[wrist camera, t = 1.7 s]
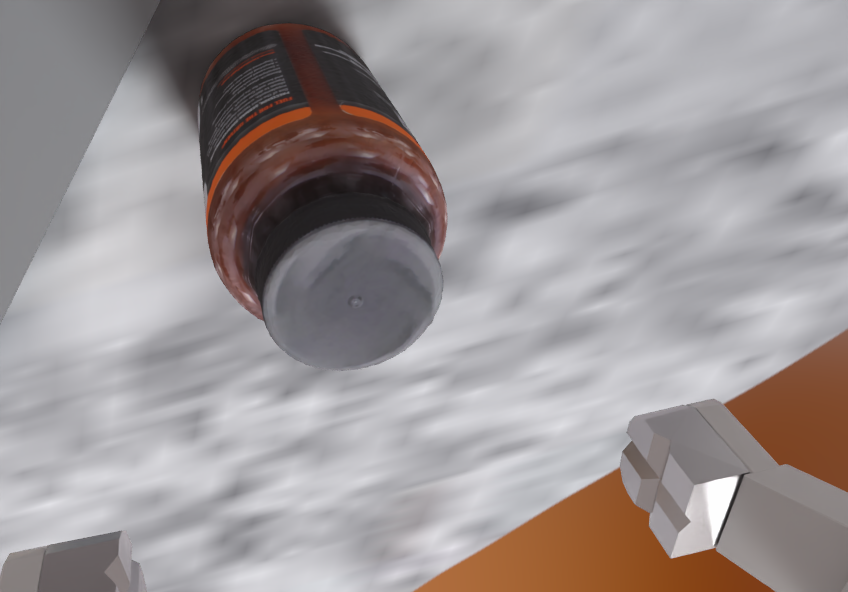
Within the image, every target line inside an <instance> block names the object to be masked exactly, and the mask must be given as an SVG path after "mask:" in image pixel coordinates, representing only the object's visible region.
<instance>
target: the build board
mask: <svg viewBox="0 0 848 592" xmlns="http://www.w3.org/2000/svg"><path fill="white" fill-rule="evenodd" d="M160 1H161V0H0V324H1V322H2V320H3V318H4V316H5V314H6V312H7V310H8V308H9V306H10V304H11V302H12V300H13V298H14V296H15V294H16V292H17V290H18V288H19V286H20V283H21V281H22V279H23V277H24V275H25V273H26V271H27V269H28V267H29V265H30V263H31V261H32V259H33V257H34V255H35V253H36V251H37V249H38V247H39V245H40V243H41V241H42V239H43V237H44V235H45V233H46V231H47V229H48V227H49V225H50V223H51V221H52V219H53V217H54V215H55V213H56V211H57V209H58V207H59V205H60V203H61V201H62V199H63V197H64V195H65V193H66V191H67V189H68V187H69V185H70V183H71V180H72V178H73V176H74V174H75V172H76V170H77V168H78V166H79V164H80V162H81V160H82V158H83V156H84V154H85V152H86V150H87V148H88V146H89V144H90V142H91V140H92V138H93V136H94V134H95V132H96V130H97V128H98V126H99V124H100V122H101V120H102V118H103V116H104V114H105V112H106V110H107V108H108V106H109V104H110V102H111V100H112V98H113V96H114V94H115V92H116V90H117V88H118V86H119V84H120V82H121V79H122V77H123V75H124V73H125V71H126V69H127V67H128V65H129V63H130V61H131V59H132V57H133V55H134V53H135V51H136V49H137V47H138V45H139V43H140V41H141V39H142V37H143V35H144V33H145V31H146V29H147V27H148V25H149V23H150V21H151V19H152V17H153V15H154V13H155V11H156V9H157V7H158V5H159V3H160Z"/></svg>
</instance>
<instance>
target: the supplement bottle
mask: <svg viewBox="0 0 848 592" xmlns="http://www.w3.org/2000/svg"><path fill="white" fill-rule="evenodd" d="M198 128H199V142H200V156H201V165H202V179H203V191H204V203H205V215H206V225H207V236H208V244H209V248H210V253H211V257H212V260H213V263H214V267H215V269H216V271H217V273H218V275H219V277H220V279H221V280H222V282H223V284H224V285H225V286H226V288H227V289H228V291H229V292H230V294H232V296H233V297H234V298H235V299H236V300H237V301H238V302H239V303H240V304H241V305H242V306H243V307H244V308H245V309H246V310H248V311H249V312H250V313H251V314H253V315H254V316H256V317H257V318H258V319H261V320H263V321H264V322H265V325H266V328H267V330H268V331H269V334H270V336H271V337H272V339H273V340H274V341H275V343H276V344H277V345H278V346H279V347H280V348H281V349H282V350H283V351H285V352H286V353H287V354H288V355H289V356H291V357H293V358H294V359H296V360H298V361H300V362H302V363H304V364H306V365H309V366H313V367H316V368H321V369H326V370H341V371H345V370H354V369H361V368H365V367H369V366H372V365H377V364H380V363H382V362H384V361H386V360H388V359H391V358H393V357H394V356H396V355H398V354H400V353H401V352H403V351H405V350H406V349H407V348H408V347H409V346H411V345H412V344H413V343H414V342H415V341H416V340H417V339H418V338H419V337H420V336H421V335H422V334H423V333H424V331H425V330H426V328H427V327H428V326H429V325H430V324H431V323H432V321H433V318H434V316H435V314H436V312H437V310H438V308H439V305H440V302H441V299H442V291H443V276H442V271H441V265H440V263H439V258H440V255H441V253H442V250H443V246H444V242H445V237H446V230H447V206H446V201H445V197H444V193H443V190H442V186H441V184H440V182H439V179H438V177H437V175H436V172H435V170H434V168H433V166H432V164H431V163H430V161H429V159H428V158H427V156H426V155H425V153H424V152H423V150H422V149H421V147H420V145H419V144H418V142H417V141H416V139H415V137H414V136H413V135H412V133H411V132H410V130H409V129H408V127H407V126H406V124H405V122H404V121H403V119H402V118H401V116H400V115H399V113H398V112H397V110H396V109H395V107H394V106H393V104H392V103H391V101H390V100H389V99H388V97H387V96H386V94H385V92H384V91H383V90H382V88H381V86H380V85H379V84H378V82H377V81H376V79H375V78H374V76H373V75H372V73H371V72H370V70H369V68H368V67H367V66H366V64H365V63H364V62H363V61H362V60H361V59H360V57H359V56H358V55H357V54H356V53H355V52H354V51H353V50H352V49H351V48H350V47H348V46H347V45H346V44H345V43H344V42H343V41H342V40H340V39H338V38H337V37H335V36H334V35H332V34H331V33H329V32H326V31H324V30H321V29H318V28H315V27H311V26H308V25H302V24H292V23H285V24H272V25H266V26H262V27H259V28H256V29H254V30H251V31H249V32H247V33H245V34H244V35H242V36H240V37H238V38H237V39H235V40H234V41H232V42H231V43H230V44H229V45H228V46H227V47H225V48H224V49H223V50H222V52H221V53H220V54H219V55H218V56H217V57H216V58H215V60H214V61H213V62H212V64H211V65H210V67H209V69H208V71H207V73H206V75H205V78H204V80H203V83H202V86H201V92H200V97H199V104H198Z"/></svg>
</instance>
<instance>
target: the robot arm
mask: <svg viewBox="0 0 848 592" xmlns="http://www.w3.org/2000/svg"><path fill="white" fill-rule="evenodd" d="M627 434H628V435H629V437H630V438H631V440H632V441H631V442H630V443H629V445H628V446H627V447H626V448H625V449H624V450H623V451H622V457H621V462H620V468H621V474H622V480H623V483H624V485H625V488H626V490H627V493H628V494H629V496H630V497H631V499H632V500H633V502H634V504H635V505H637V506H638V507H640V508H642V509H644V510H646V511H647V512H649V513H650V522H649V527H650V528H651V530H652V531H653V533H654V534H655V536H656V537H657V539H658V540H659V542H660V543H661V545H662V546H663V548H664V549H665V551H666V552H667V554H668V555H669V557H670V558H675V557H679V556H683V555H686V554H691V553H695V552H699V551H703V550H707V549H711V548H716V547H717V548H716V551H718V552H719V553H721V554H722V555H723V556H725V557H726V558H728V559H729V560H731V561H732V562H734V563H736V564H737V565H738V566H740V567H741V568H742V569H744V570H745V571H747V572H748V573H750V574H751V575H752V576H754V577H755V578H757V579H758V580H760V581H761V582H763V583H764V584H766V585H767V586H769V587H770V588H771V589H773V590H774V591H776V592H848V493H847V492H845V491H843V490H841V489H839V488H837V487H835V486H832V485H830V484H828V483H826V482H824V481H822V480H819V479H817V478H815V477H813V476H811V475H809V474H807V473H804V472H802V471H800V470H798V469H795V468H794V467H792V466H789V465H787V464H786V465H781V466H779V465H778V464H777V463H776V462H775V461H774V460H773V459H772V457H771V456H770V455H769V454H768V453H767V452H766V451H765V450H764V449H763V448H762V446H761V445H760V444H759V443H758V442H757V441H756V440H755V439H754V438H753V437H752V436H751V434H750V433H749V432H748V431H747V430H746V429H745V428H744V427H743V426H742V425H741V424H740V423H739V422H738V420H737V419H736V418H735V417H734V416H733V415H732V414H731V413H730V412H729V410H728V409H727V408H726V407H725V406H724V405H723V404H722V403H721V402H719V401H717V400H715V399H710V400H705V401H701V402H696V403H692V404H687V405H680V406H676V407H672V408H668V409H664V410H659V411H655V412H651V413H647V414H642V415H638V416H634V417H633V419H632V420H631V421H630V422H629V426H628V430H627ZM131 559H132V543H131V541H130V538H129V536H128V534H127V532H126V531H118V532H113V533H108V534H103V535H98V536H93V537H87V538H82V539H77V540H72V541H67V542H62V543H57V544H52V545H48V546H43V547H38V548H33V549H29V550H24V551H19V552H14V553H10V554H9V556H8V557H7V559H6V561H5V563H4V564H3V567H2V571H1V576H0V592H147V590H146V584H145V580H144V575H143V572H142V569H141V566H140V564H139V563H137V562H135V561H133V560H131Z"/></svg>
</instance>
